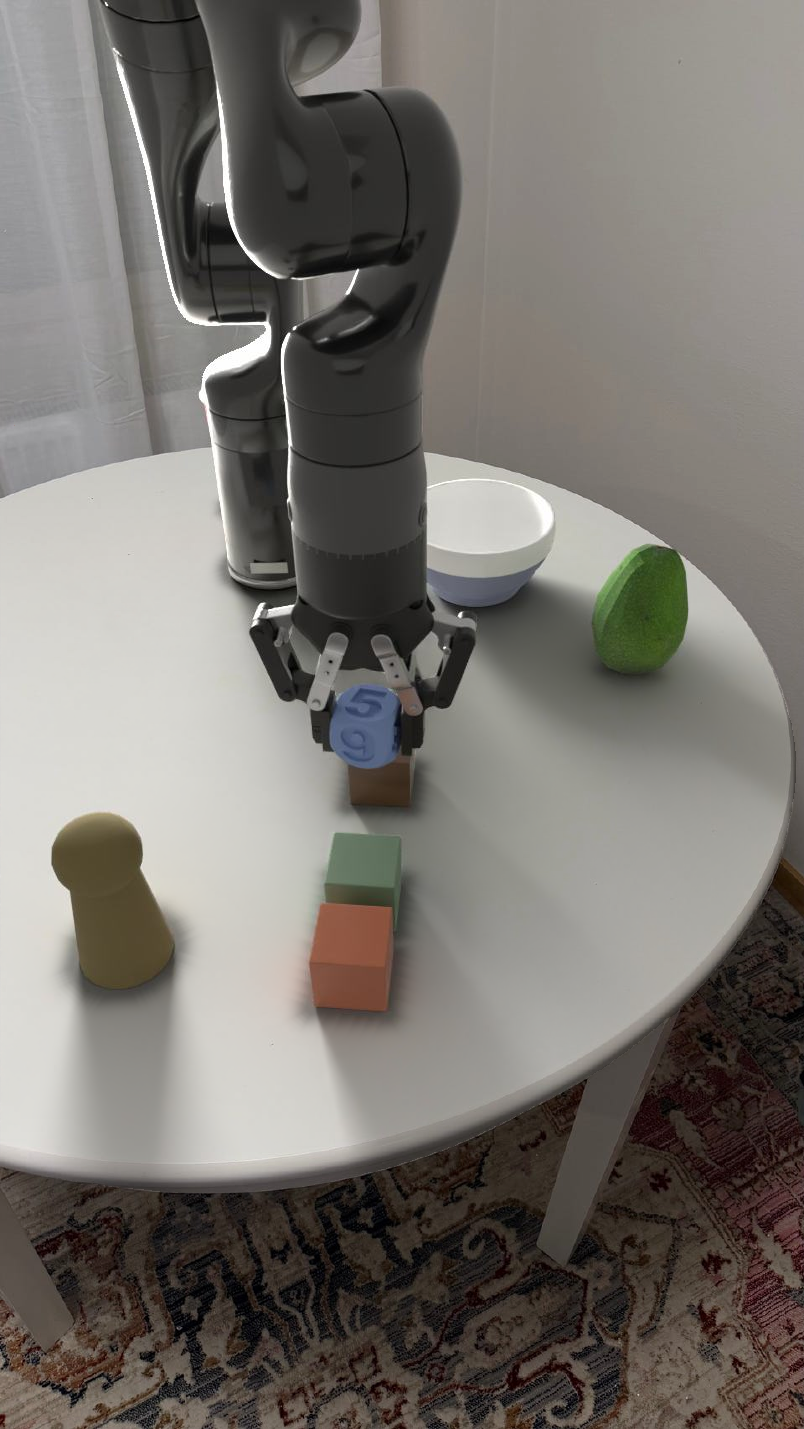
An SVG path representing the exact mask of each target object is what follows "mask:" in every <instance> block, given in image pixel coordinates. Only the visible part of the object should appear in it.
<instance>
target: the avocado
mask: <svg viewBox="0 0 804 1429" xmlns="http://www.w3.org/2000/svg"><path fill="white" fill-rule="evenodd" d="M688 596H689V595H688V580H687V570H686V568H685V564H684V561H683V559H682V558H681V555H680V553H679V552H678V551H677V550H676V549H675V548H671V547H668V546H664V545H661V544H654V543H644V544H642V545H639V546H638V547H636V548H633V549H632V550H631V551H630V552H629V553H628V554H626V555H625V557H624V558H623V559H622V561H621V562H620V563H619V564H618V565H617V567H615V569H614V570H613V571H612V572H611V573H610V575H609V576H608V578H607V579H606V581H605V583H604V584H603V586H602V588H601V589H600V590H599V592H598V594H597V597H596V601H595V606H594V610H593V614H592V618H591V629H592V635H593V640H594V650H595V652H596V654H597V655H598V656H599V658H600V659H601V660H602V662H603V663H604V664H605V665H606V667H607V668H609V669H611V670H613V671H614V672H617V673H618V672H619V673H620V674H623V675H647V674H651V673H652V672H653V673H654V672H656V671H659V670H660V669H662V668H663V667H664V666H665V665H666V664H668V662H669V661H670V660H671V659H672V658H673V656H675V654H676V653H677V652H678V649H679V648H680V647H681V644H682V643H683V641H684V638H685V634H686V630H687V624H688V619H689V598H688Z"/></svg>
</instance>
